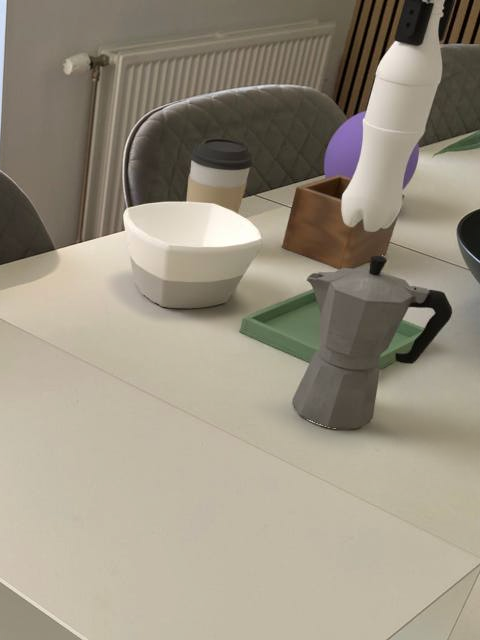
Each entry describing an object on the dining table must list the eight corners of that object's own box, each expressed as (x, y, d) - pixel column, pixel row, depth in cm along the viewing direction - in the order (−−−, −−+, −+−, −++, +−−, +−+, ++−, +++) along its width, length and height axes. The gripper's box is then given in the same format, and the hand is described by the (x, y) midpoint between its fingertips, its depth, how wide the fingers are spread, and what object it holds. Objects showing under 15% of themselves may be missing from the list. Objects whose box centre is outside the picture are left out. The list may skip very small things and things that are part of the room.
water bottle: (327, 225, 123) (390, -13, 107) (347, 210, 128) (411, -20, 111) (383, 239, 120) (457, -2, 104) (401, 224, 125) (475, -10, 108)
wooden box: (385, 254, 155) (404, 194, 149) (345, 271, 149) (363, 209, 143) (322, 232, 161) (338, 173, 155) (281, 247, 155) (296, 186, 149)
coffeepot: (268, 416, 114) (310, 259, 102) (280, 381, 120) (321, 230, 108) (406, 447, 110) (466, 289, 98) (411, 410, 117) (468, 257, 105)
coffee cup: (187, 258, 149) (206, 151, 139) (167, 236, 156) (184, 132, 146) (243, 257, 151) (266, 151, 141) (221, 235, 157) (242, 132, 147)
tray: (427, 345, 131) (432, 330, 129) (354, 382, 121) (359, 367, 120) (314, 300, 140) (318, 286, 139) (239, 331, 131) (242, 317, 129)
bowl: (97, 271, 143) (106, 203, 137) (207, 263, 148) (220, 197, 142) (148, 323, 131) (160, 251, 125) (266, 313, 136) (283, 243, 129)
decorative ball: (411, 203, 175) (441, 110, 165) (389, 227, 165) (419, 129, 155) (328, 185, 180) (353, 93, 170) (302, 206, 170) (326, 110, 160)
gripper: (474, -168, 92) (409, 56, 104) (553, -166, 101) (485, 40, 113) (402, -175, 96) (348, 42, 108) (484, -173, 105) (425, 28, 117)
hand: (418, 39), depth 111 cm, fingers closed on water bottle, 3 cm apart
